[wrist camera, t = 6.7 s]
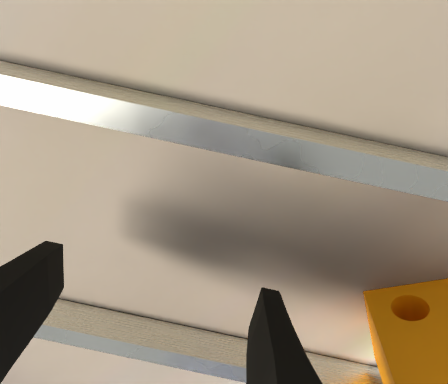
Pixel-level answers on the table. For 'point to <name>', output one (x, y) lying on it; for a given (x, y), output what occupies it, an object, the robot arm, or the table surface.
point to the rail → (219, 142)
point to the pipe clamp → (410, 332)
